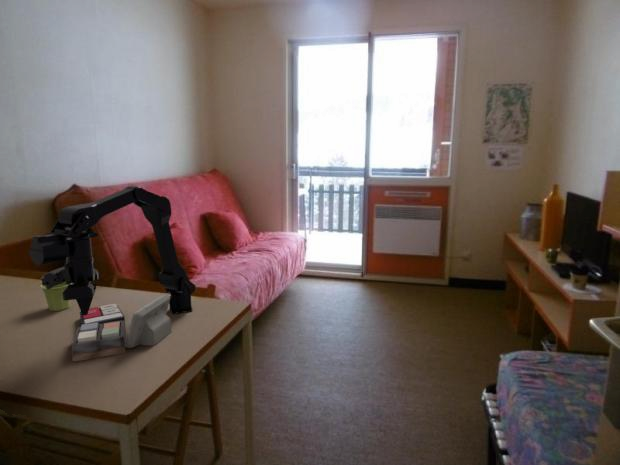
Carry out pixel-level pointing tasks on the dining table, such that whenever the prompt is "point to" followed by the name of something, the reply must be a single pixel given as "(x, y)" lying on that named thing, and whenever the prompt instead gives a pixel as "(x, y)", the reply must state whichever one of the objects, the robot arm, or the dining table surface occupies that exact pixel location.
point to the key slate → (89, 327)
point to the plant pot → (56, 297)
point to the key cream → (87, 336)
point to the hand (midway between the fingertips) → (85, 314)
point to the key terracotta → (112, 325)
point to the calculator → (102, 315)
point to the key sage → (110, 332)
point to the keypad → (99, 344)
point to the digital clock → (149, 323)
